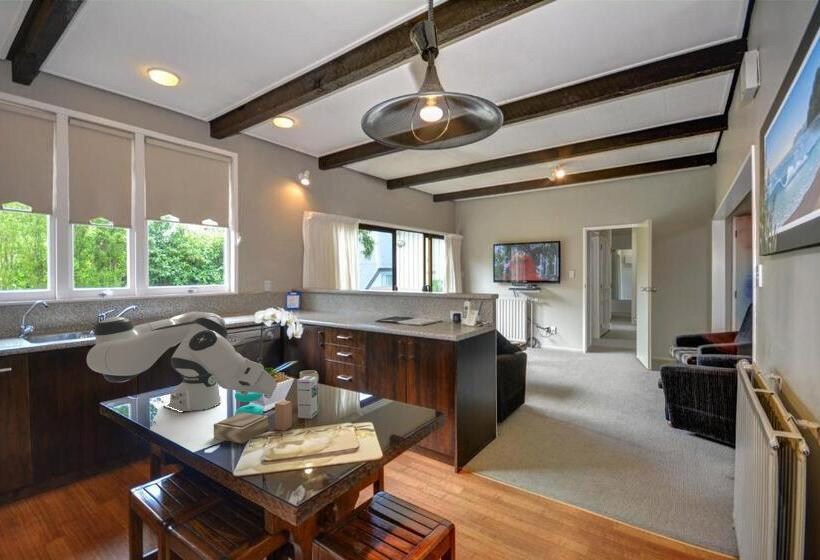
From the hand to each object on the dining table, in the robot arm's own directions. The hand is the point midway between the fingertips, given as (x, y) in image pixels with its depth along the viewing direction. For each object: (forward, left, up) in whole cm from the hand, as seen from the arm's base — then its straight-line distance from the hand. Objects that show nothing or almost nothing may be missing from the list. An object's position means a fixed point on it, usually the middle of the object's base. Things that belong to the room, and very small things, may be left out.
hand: (257, 394), depth 123 cm
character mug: (-8, +38, -16) cm, 42 cm away
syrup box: (+1, +25, -16) cm, 30 cm away
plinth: (-10, +3, -15) cm, 19 cm away
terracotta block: (0, +12, -15) cm, 20 cm away
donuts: (-20, +17, -16) cm, 31 cm away
